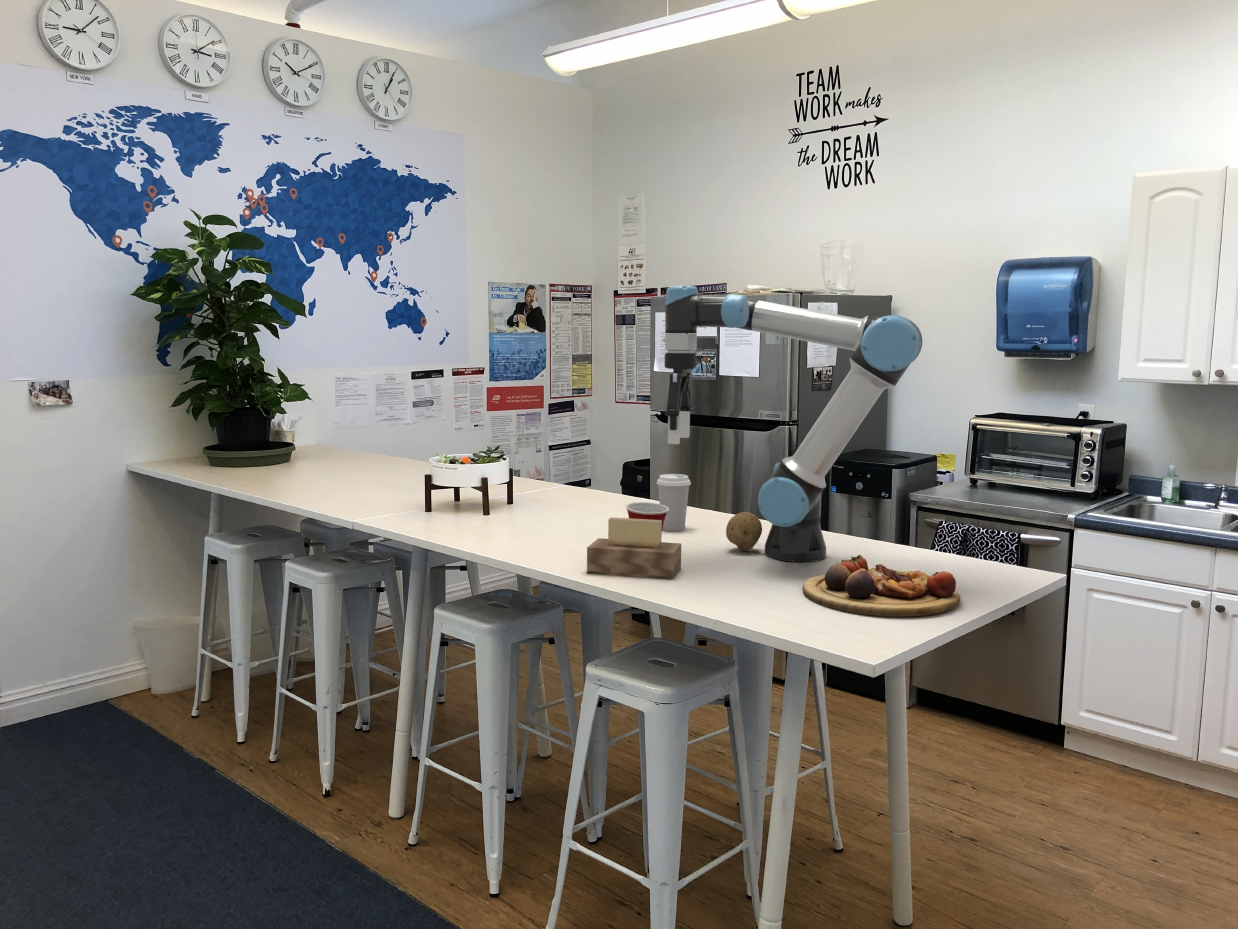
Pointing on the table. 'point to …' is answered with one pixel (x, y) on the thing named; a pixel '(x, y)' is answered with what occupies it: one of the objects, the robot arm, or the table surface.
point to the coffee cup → (674, 500)
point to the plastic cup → (647, 511)
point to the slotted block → (634, 560)
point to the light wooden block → (634, 532)
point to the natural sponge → (744, 530)
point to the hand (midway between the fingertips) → (678, 440)
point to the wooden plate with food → (882, 590)
